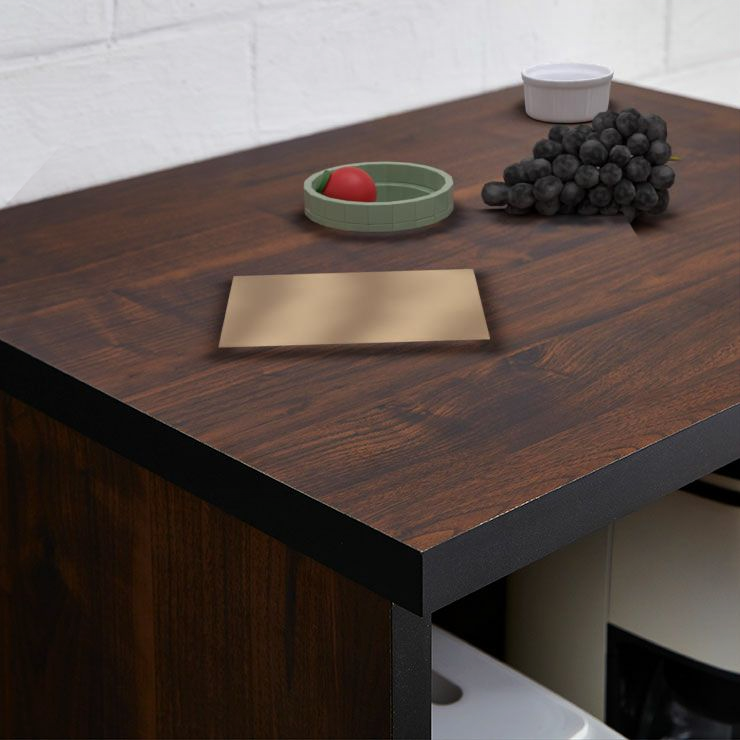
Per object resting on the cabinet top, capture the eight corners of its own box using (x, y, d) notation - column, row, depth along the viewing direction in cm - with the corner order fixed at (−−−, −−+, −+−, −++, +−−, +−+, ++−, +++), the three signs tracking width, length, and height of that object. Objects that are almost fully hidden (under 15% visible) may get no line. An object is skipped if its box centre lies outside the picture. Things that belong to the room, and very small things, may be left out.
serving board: (219, 370, 82) (217, 346, 81) (234, 296, 93) (233, 275, 92) (490, 361, 82) (490, 338, 81) (473, 289, 93) (473, 268, 92)
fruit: (485, 116, 98) (689, 98, 100) (464, 126, 107) (652, 109, 108) (496, 238, 99) (697, 218, 101) (473, 238, 108) (660, 220, 109)
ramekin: (523, 126, 132) (524, 80, 130) (517, 104, 140) (518, 61, 138) (617, 124, 131) (619, 79, 130) (606, 102, 139) (608, 59, 138)
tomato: (361, 239, 104) (307, 212, 103) (360, 221, 107) (308, 195, 107) (387, 191, 102) (333, 164, 101) (385, 175, 106) (333, 148, 105)
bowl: (303, 253, 100) (301, 206, 99) (307, 206, 111) (305, 163, 109) (458, 248, 100) (458, 202, 99) (447, 202, 111) (447, 159, 109)
